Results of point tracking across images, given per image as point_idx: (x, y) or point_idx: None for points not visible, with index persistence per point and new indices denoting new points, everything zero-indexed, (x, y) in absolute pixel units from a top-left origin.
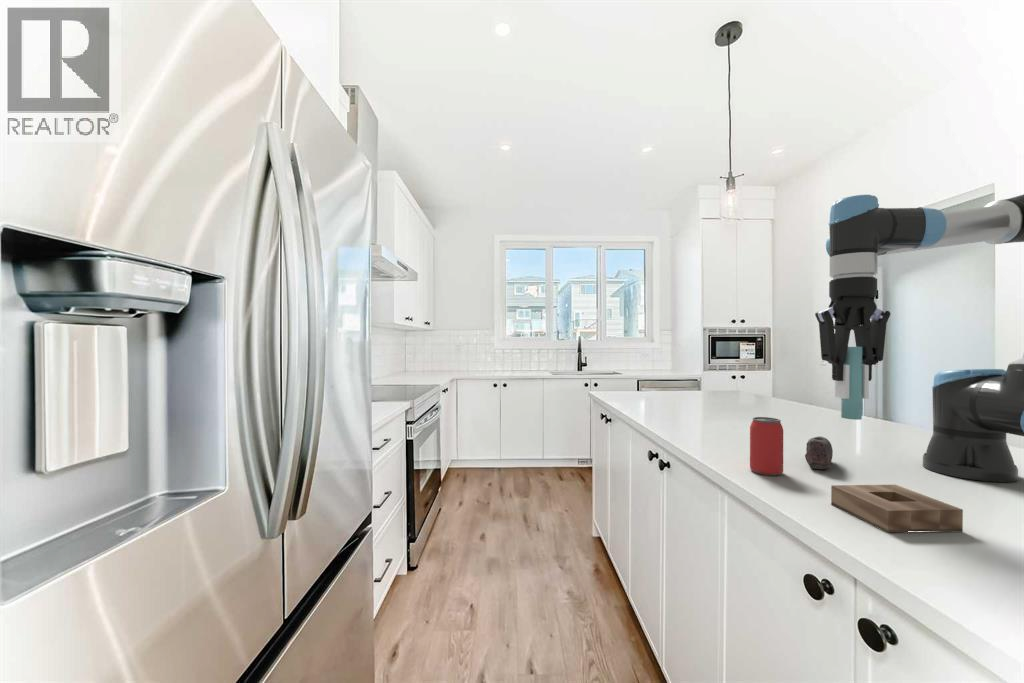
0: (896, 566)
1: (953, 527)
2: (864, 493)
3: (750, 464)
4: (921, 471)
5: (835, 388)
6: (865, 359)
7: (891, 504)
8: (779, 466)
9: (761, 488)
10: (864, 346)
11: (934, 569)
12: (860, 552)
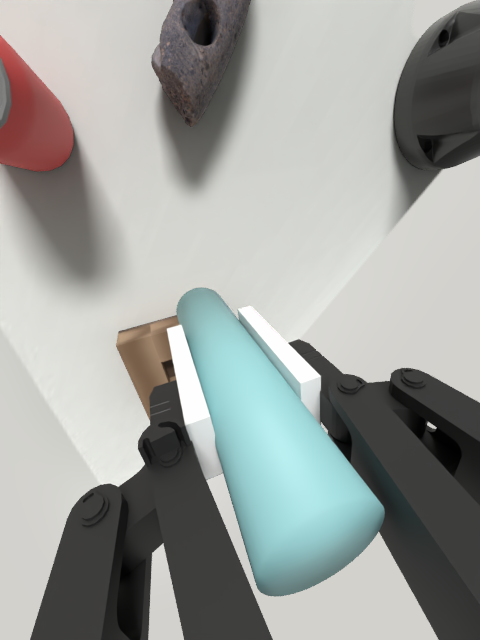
0: (120, 469)
1: None
2: (152, 370)
3: None
4: (378, 97)
5: (170, 344)
6: (340, 437)
7: None
8: (54, 165)
9: (2, 272)
10: (388, 536)
11: None
12: (98, 457)
